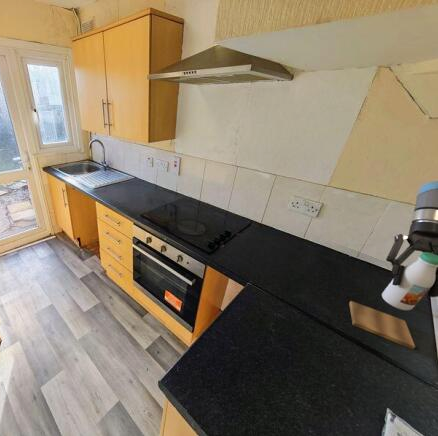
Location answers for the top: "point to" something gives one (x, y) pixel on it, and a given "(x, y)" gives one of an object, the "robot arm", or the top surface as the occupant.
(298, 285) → the top surface
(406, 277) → the milk bottle
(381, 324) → the chopping board
